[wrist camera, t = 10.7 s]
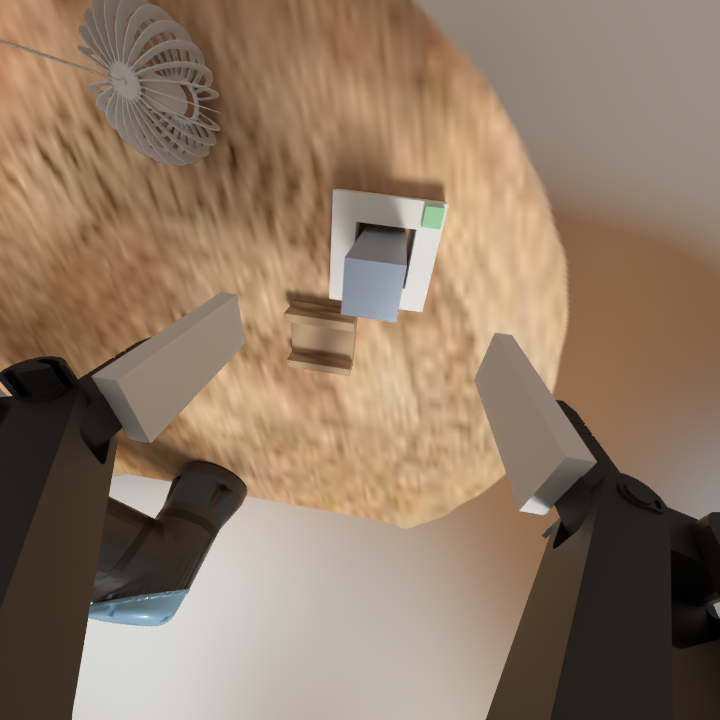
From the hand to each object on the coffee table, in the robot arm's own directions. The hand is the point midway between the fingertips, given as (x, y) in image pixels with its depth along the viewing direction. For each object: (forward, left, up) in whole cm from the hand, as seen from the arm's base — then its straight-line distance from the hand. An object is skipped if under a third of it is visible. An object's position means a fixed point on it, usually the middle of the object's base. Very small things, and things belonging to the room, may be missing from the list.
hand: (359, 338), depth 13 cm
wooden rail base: (-6, -11, -18) cm, 22 cm away
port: (0, 0, -18) cm, 18 cm away
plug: (0, 0, -18) cm, 18 cm away
